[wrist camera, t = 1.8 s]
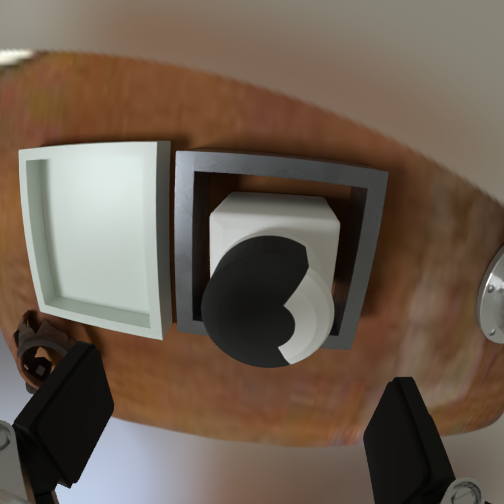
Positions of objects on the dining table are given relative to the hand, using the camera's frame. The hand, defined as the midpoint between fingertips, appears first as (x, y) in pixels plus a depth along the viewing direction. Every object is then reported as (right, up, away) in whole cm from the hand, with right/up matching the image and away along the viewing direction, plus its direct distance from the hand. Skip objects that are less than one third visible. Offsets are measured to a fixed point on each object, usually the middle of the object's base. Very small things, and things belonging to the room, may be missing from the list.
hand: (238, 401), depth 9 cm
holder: (+2, +6, +15) cm, 17 cm away
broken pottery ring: (-23, -6, +23) cm, 33 cm away
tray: (-13, +6, +17) cm, 22 cm away
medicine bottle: (+2, +6, +16) cm, 17 cm away
